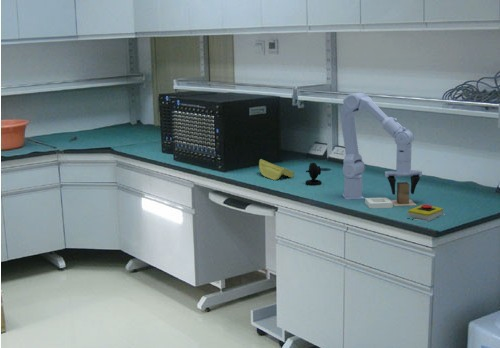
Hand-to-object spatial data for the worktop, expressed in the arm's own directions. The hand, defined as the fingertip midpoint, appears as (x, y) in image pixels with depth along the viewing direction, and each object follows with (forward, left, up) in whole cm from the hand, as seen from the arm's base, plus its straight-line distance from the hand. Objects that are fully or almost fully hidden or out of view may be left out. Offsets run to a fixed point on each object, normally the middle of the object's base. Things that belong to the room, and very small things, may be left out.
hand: (402, 193), depth 275 cm
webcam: (-42, -30, -4) cm, 52 cm away
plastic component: (-62, -46, -5) cm, 78 cm away
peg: (0, 0, -4) cm, 4 cm away
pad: (0, 0, -4) cm, 4 cm away
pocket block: (+3, -10, -4) cm, 12 cm away
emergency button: (+20, +3, -5) cm, 20 cm away
